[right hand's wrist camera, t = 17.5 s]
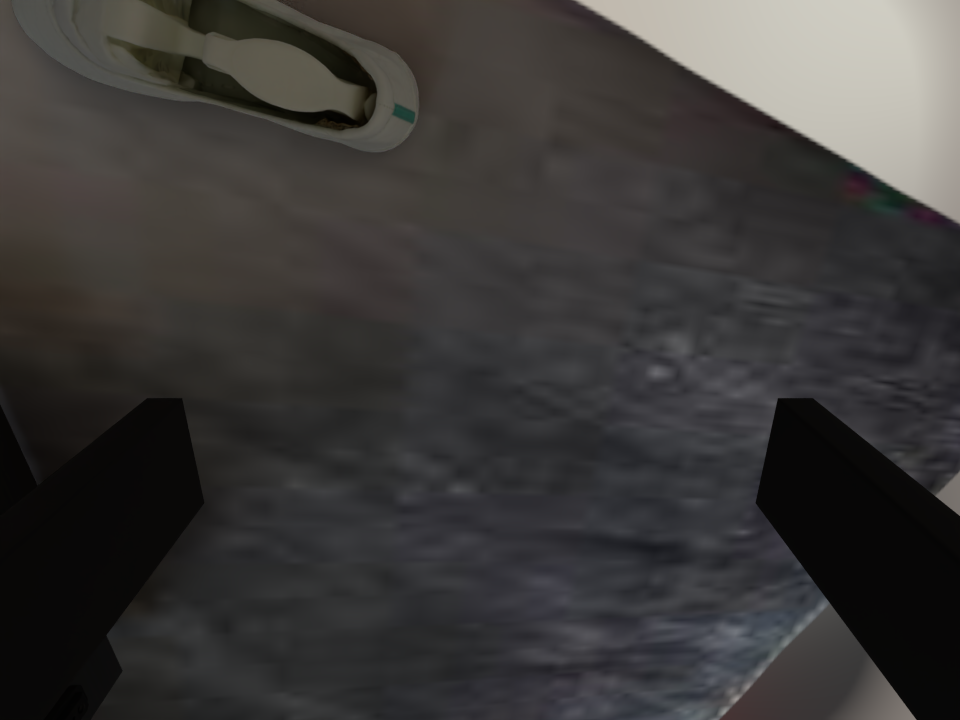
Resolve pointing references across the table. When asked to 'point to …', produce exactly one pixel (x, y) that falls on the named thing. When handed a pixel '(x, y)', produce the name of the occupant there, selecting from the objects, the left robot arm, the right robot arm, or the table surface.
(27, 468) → the bar
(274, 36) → the ballet flat
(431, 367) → the table surface
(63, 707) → the left robot arm
